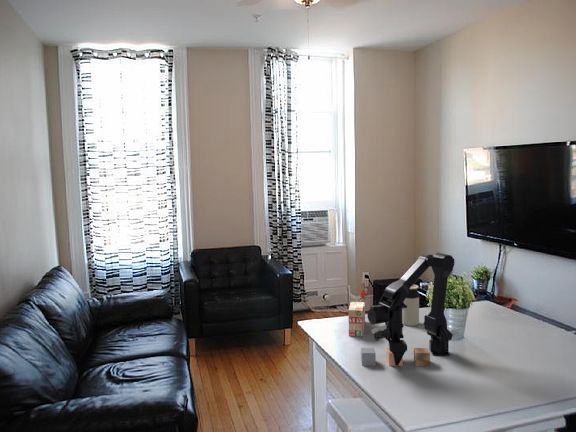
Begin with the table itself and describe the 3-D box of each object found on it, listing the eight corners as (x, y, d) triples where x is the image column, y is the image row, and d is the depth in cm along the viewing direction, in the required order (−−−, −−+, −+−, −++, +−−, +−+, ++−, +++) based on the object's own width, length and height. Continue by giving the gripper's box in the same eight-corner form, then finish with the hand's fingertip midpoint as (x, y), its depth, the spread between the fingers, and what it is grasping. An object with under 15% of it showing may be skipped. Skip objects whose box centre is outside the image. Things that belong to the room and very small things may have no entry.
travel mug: (422, 324, 222) (422, 287, 220) (408, 327, 219) (408, 289, 217) (412, 319, 230) (412, 283, 228) (398, 322, 227) (398, 285, 225)
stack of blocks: (352, 321, 231) (351, 296, 230) (365, 321, 230) (365, 296, 228) (348, 336, 210) (348, 309, 209) (363, 337, 209) (362, 309, 208)
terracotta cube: (400, 360, 183) (400, 347, 183) (402, 365, 178) (402, 353, 178) (387, 360, 183) (387, 347, 183) (389, 365, 178) (389, 353, 178)
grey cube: (374, 360, 184) (374, 347, 183) (375, 365, 179) (375, 353, 178) (361, 360, 184) (360, 348, 184) (362, 365, 179) (362, 353, 179)
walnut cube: (427, 360, 182) (427, 347, 182) (429, 365, 177) (430, 353, 177) (413, 360, 183) (413, 347, 182) (416, 365, 178) (416, 353, 177)
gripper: (370, 312, 189) (370, 350, 190) (375, 328, 170) (376, 370, 172) (398, 312, 188) (399, 350, 190) (407, 328, 170) (407, 370, 171)
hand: (394, 360), depth 181 cm, fingers open, 9 cm apart
